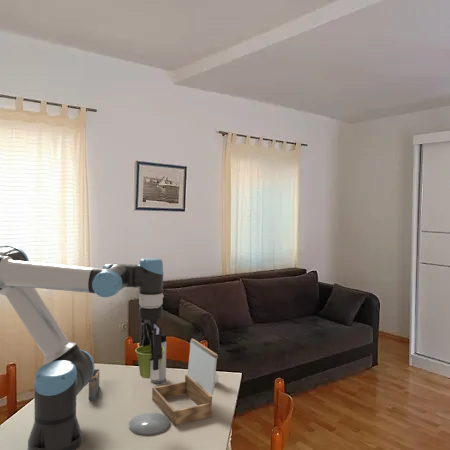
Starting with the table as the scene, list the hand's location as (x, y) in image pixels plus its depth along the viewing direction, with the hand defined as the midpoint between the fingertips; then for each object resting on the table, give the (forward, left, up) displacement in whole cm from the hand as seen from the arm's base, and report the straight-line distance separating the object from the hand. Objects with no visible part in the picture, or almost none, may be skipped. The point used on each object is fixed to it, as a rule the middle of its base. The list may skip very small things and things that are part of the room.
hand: (150, 374), depth 144 cm
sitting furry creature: (+33, +23, -17) cm, 44 cm away
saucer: (0, 0, -17) cm, 17 cm away
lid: (+22, +7, -3) cm, 23 cm away
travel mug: (+15, +34, -17) cm, 41 cm away
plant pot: (0, 0, 0) cm, 1 cm away
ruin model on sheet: (-11, +33, -17) cm, 39 cm away
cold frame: (+14, +7, -17) cm, 23 cm away
